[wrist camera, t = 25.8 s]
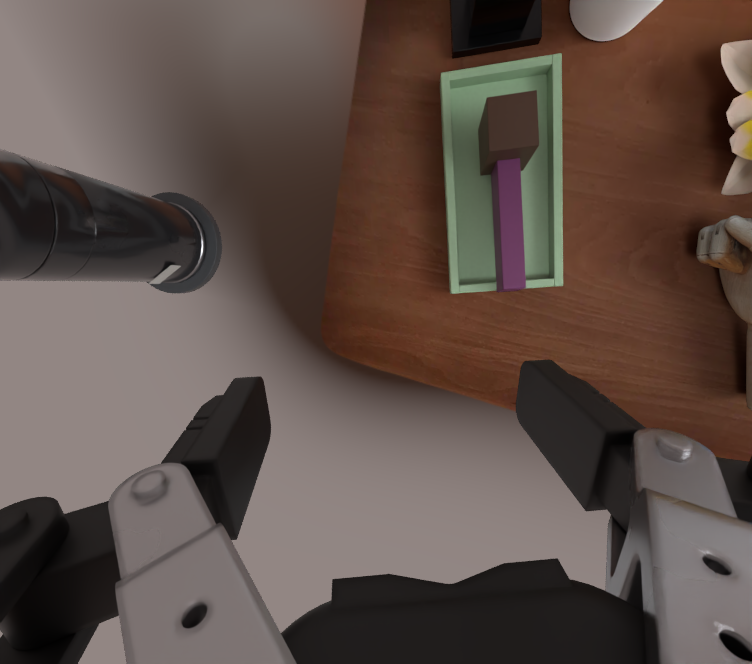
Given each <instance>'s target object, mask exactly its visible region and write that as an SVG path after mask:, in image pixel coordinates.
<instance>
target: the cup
mask: <svg viewBox="0 0 752 664" xmlns="http://www.w3.org/2000/svg"><path fill="white" fill-rule="evenodd" d="M662 1H663V0H570V16H571V20H572V22H573V24H574V26H575V28H576V29H577V30H578V31H579V32H580V33H581V34H582V35H583V36H585V37H586V38H588V39H591V40H595V41H610V40H614V39H617V38H619V37H621V36H623V35H625V34H626V33H628V32H629V31H630V30H631V29H633V28H634V27H635V26H636V25H637V24H638V23H639V22H640V21H641V20H642V19H644V18H645V17H646V16H647V15H648V14H649V13H650V12H651V11H652V10H653V9H654V8H656V7H657V6H658V5H659V4H660V3H661V2H662Z"/></svg>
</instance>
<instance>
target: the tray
mask: <svg viewBox="0 0 752 664" xmlns="http://www.w3.org/2000/svg"><path fill="white" fill-rule="evenodd" d="M534 90H537V105H538V127H539V146H538V148H537V149H536V151H535V153H534V154H533V156H532V157H531V159H530V160H529V162H528V163H527V165H526V167H525V168H524V170H523V171H521V189H522V211H523V232H524V254H525V275H526V288H539V287H553V286H563V201H562V53H559V54H553V55H547V56H541V57H535V58H529V59H523V60H516V61H510V62H504V63H498V64H492V65H486V66H480V67H474V68H468V69H462V70H456V71H450V72H443V73H441V78H440V97H441V118H442V139H443V160H444V182H445V203H446V224H447V245H448V266H449V287H450V293H451V294H454V293H468V292H482V291H496V290H497V288H496V268H495V247H494V227H493V206H492V186H491V175H483V176H480V159H479V139H478V128H479V125H480V121H481V117H482V113H483V110H484V106H485V102H486V98H487V97H494V96H500V95H507V94H514V93H520V92H527V91H534ZM524 289H525V288H524Z"/></svg>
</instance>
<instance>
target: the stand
mask: <svg viewBox="0 0 752 664" xmlns="http://www.w3.org/2000/svg"><path fill="white" fill-rule="evenodd" d="M450 18H451V41H452V58H459V57H465V56H471V55H476V54H482V53H488V52H494V51H500V50H506V49H512V48H518V47H524V46H529V45H535V44H539V41H540V39H541V37H542V22H541V0H450Z"/></svg>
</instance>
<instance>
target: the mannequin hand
mask: <svg viewBox="0 0 752 664" xmlns="http://www.w3.org/2000/svg"><path fill="white" fill-rule="evenodd" d="M697 259H698V260H699V262H701V263H703V264H707V265H710V266H713V267H717V268H719V272H720V278H721V282H722V285H723V289H724V292H725V295H726V298H727V300H728V301H729V304H730V305H731V307H732V308H733V310H734V311H735V313H736V314H737V315H738V316H739V317H740V318H741V319H742V320H744V321H746V322H747V325H748V330H747V357H746V363H747V368H746V383H747V384H746V402H747V406H748V408H749V409H751V410H752V218H742V217H740V216H737V215H734V216H731V217H730V218H728V219H724V220H721V221H720V222H718V223H717V224H716V225H711V226H707V227H704V228H703V229H701V231H700V232H699V236H698V244H697Z"/></svg>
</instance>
